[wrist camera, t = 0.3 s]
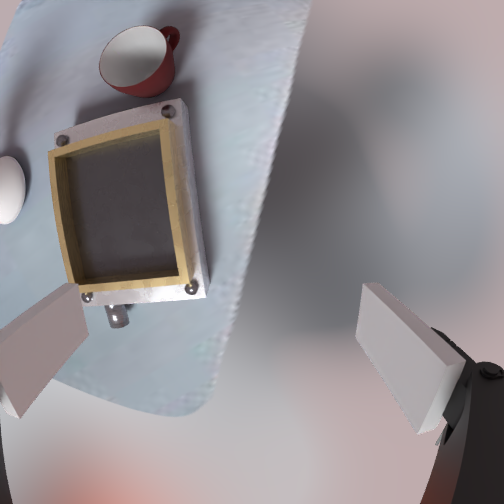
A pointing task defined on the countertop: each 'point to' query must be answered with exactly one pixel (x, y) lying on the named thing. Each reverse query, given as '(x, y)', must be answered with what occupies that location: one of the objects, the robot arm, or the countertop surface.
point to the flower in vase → (11, 189)
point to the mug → (140, 60)
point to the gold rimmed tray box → (129, 209)
